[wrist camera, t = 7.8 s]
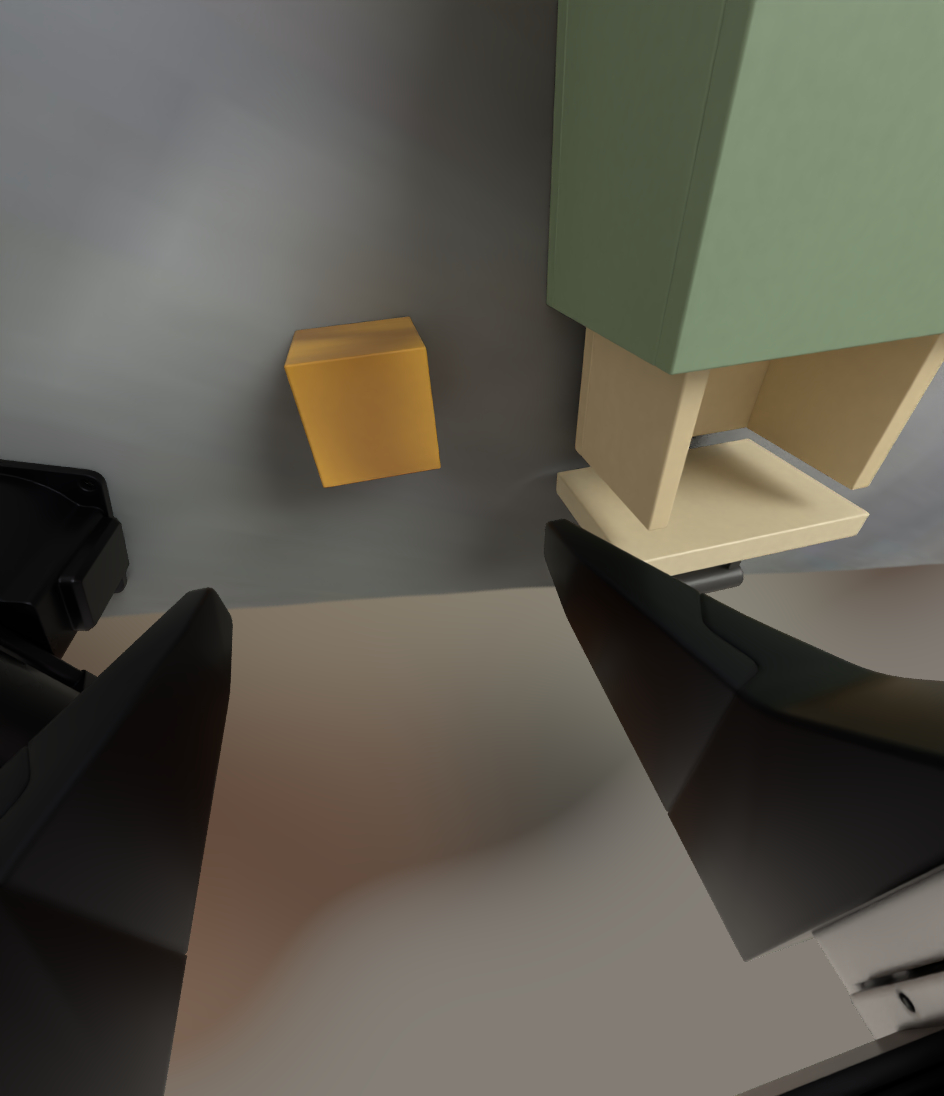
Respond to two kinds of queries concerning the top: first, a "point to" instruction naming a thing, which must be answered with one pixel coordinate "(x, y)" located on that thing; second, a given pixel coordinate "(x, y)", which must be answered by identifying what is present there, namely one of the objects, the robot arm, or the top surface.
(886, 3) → the cabinet
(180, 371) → the top surface
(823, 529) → the drawer
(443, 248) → the top surface
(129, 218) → the top surface
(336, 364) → the block
